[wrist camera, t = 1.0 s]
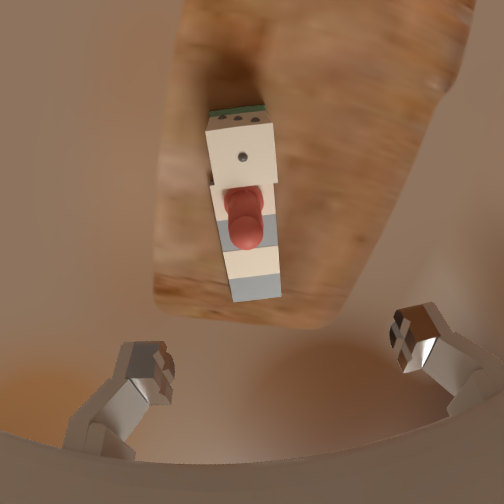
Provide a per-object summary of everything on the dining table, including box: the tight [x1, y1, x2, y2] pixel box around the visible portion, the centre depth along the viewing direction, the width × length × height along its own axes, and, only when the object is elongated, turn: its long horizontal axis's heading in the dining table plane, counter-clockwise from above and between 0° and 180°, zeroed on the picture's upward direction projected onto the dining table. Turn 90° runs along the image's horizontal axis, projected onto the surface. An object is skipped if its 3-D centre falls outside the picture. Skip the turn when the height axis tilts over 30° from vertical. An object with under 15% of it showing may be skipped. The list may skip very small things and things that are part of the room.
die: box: [205, 110, 278, 190], centre depth 25 cm, size 6×5×5 cm
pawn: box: [224, 185, 264, 250], centre depth 27 cm, size 4×4×7 cm
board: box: [210, 181, 281, 302], centre depth 34 cm, size 16×6×1 cm, turn 6°
